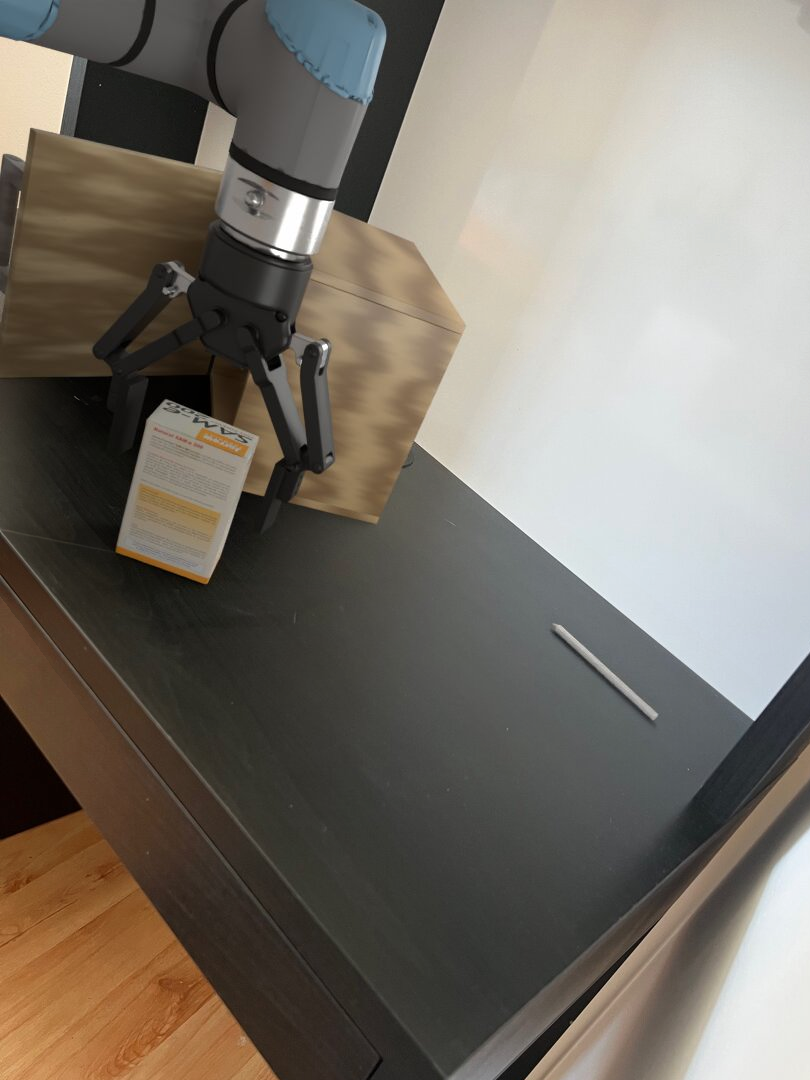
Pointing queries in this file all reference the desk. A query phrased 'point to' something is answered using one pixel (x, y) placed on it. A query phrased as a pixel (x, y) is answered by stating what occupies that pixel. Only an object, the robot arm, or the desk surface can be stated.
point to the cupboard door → (94, 251)
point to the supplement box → (184, 491)
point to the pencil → (606, 672)
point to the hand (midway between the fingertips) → (190, 489)
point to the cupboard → (355, 367)
